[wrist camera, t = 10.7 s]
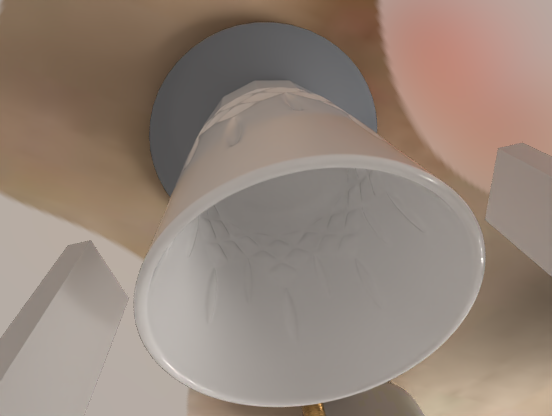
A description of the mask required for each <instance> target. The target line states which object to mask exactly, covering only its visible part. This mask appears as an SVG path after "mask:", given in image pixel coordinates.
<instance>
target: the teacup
mask: <svg viewBox="0 0 552 416" xmlns="http://www.w3.org/2000/svg"><path fill="white" fill-rule="evenodd" d="M323 404H324V409H325V413H326V416H425V415H424V414H423V412H422V410H421V409H420V407H419V406H418V404H417V403H416V401H415V400H414V399H413V398H412V397H411V395H410V394H409V393H408V392H406V391H405V390H404V389H402V388H400V387H399V386H396V385H394V384H391V383H387V382H386V383H384V384H381V385H379V386H377V387H374V388H372V389H369V390H367V391H364V392H361V393H358V394H355V395H352V396H349V397H345V398H342V399H338V400H334V401H329V402H324V403H323Z"/></svg>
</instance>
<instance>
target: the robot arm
mask: <svg viewBox="0 0 552 416" xmlns="http://www.w3.org/2000/svg"><path fill="white" fill-rule="evenodd" d="M485 220H486V221H487V222H488V223H489V224H491V225H492V226H493V227H494V228H495V229H496V230H498V231H499V232H500V233H501V234H502V235H503V236H505V237H506V238H507V239H508V240H509V241H510V242H512V243H513V244H514V245H515V246H516V247H517V248H519V249H520V250H521V251H522V252H523V253H524V254H526V255H527V256H528V257H529V258H530V259H532V260H533V261H534V262H535V263H536V264H537V265H539V266H540V267H541V268H542V269H543V270H544V271H546V272H547V273H548V274H549V275H550V276H551V277H552V156H550V155H548V154H546V153H543V152H541V151H539V150H537V149H535V148H533V147H531V146H529V145H526V144H524V143H519V144H515V145H510V146H506V147H502V148H498V152H497V157H496V162H495V168H494V173H493V179H492V184H491V190H490V195H489V201H488V206H487V212H486V217H485ZM128 299H129V298H128V296H127V295H126V293H125V292H124V290H123V289H122V287H121V286H120V284H119V283H118V281H117V280H116V278H115V276H114V275H113V273H112V272H111V270H110V269H109V267H108V266H107V264H106V263H105V261H104V260H103V258H102V257H101V255H100V253H99V252H98V251H97V249H96V247H95V246H94V244H93V243H92V241H85V242H81V243H77V244H72V245H68V246H67V247H66V249H65V250H64V252H63V253H62V254H61V256H60V257H59V258H58V260H57V261H56V263H55V264H54V265H53V267H52V268H51V270H50V271H49V272H48V274H47V275H46V276H45V278H44V279H43V280H42V282H41V283H40V285H39V286H38V287H37V289H36V290H35V292H34V293H33V294H32V296H31V297H30V298H29V300H28V301H27V302H26V304H25V305H24V307H23V308H22V309H21V311H20V312H19V314H18V315H17V316H16V318H15V319H14V320H13V322H12V323H11V325H10V326H9V327H8V329H7V330H6V332H5V333H4V334H3V336H2V337H1V338H0V416H84V415H85V412H86V410H87V407H88V405H89V402H90V399H91V397H92V394H93V391H94V389H95V386H96V384H97V381H98V378H99V376H100V373H101V370H102V368H103V365H104V363H105V360H106V357H107V355H108V352H109V349H110V347H111V344H112V341H113V339H114V336H115V334H116V331H117V328H118V326H119V323H120V321H121V318H122V315H123V313H124V310H125V307H126V305H127V302H128Z"/></svg>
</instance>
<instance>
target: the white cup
mask: <svg viewBox="0 0 552 416" xmlns="http://www.w3.org/2000/svg"><path fill="white" fill-rule="evenodd" d="M485 260H486V253H485V243H484V238H483V234H482V231H481V228H480V226H479V223H478V221H477V219H476V217H475V215H474V214H473V212H472V210H471V209H470V207H469V206H468V205H467V203H466V202H465V201H464V200H463V199H462V198H461V196H460V195H459V194H458V193H456V192H455V191H454V190H453V189H452V188H451V187H450V186H448V185H447V184H446V183H444V182H443V181H442V180H440V179H439V178H437V177H436V176H435V175H433V174H432V173H430V172H429V171H428V170H426V169H425V168H423V167H422V166H421V165H419V164H418V163H417V162H415V161H414V160H412V159H411V158H410V157H408V156H407V155H406V154H404V153H403V152H401V151H400V150H399V149H397V148H396V147H395V146H393V145H392V144H391V143H389V142H388V141H387V140H385V139H384V138H382V137H381V136H380V135H378V134H377V133H376V132H374V131H373V130H372V129H370V128H369V127H368V126H366V125H365V124H364V123H362V122H361V121H359V120H358V119H357V118H355V117H353V116H352V115H350V114H348V113H347V112H345V111H344V110H342V109H341V108H339V107H338V106H336V105H335V104H333V103H332V102H330V101H329V100H327V99H325V98H324V97H322V96H320V95H317V94H315V93H313V92H311V91H309V90H307V89H305V88H303V87H302V86H300V85H298V84H296V83H294V82H292V81H290V80H255V81H252V82H250V83H249V84H247V85H245V86H243V87H241V88H239V89H237V90H235V91H233V92H231V93H229V94H227V95H226V96H224V97H223V98H222V99H221V101H220V102H219V103H218V105H217V106H216V108H215V109H214V111H213V112H212V113H211V115H210V116H209V118H208V119H207V120H206V122H205V123H204V125H203V128H202V129H201V131H200V133H199V135H198V136H197V138H196V140H195V142H194V144H193V147H192V149H191V151H190V153H189V155H188V157H187V159H186V161H185V163H184V165H183V168H182V170H181V172H180V175H179V177H178V180H177V182H176V185H175V187H174V190H173V192H172V195H171V197H170V199H169V202H168V204H167V207H166V209H165V212H164V214H163V216H162V219H161V221H160V224H159V226H158V228H157V231H156V233H155V235H154V238H153V240H152V242H151V245H150V247H149V249H148V252H147V254H146V256H145V259H144V261H143V263H142V266H141V268H140V271H139V274H138V278H137V281H136V286H135V293H134V317H135V322H136V327H137V330H138V333H139V336H140V338H141V340H142V342H143V344H144V346H145V348H146V349H147V351H148V352H149V354H150V355H151V357H152V358H153V359H154V360H155V361H156V362H157V364H158V365H159V366H160V367H162V369H163V370H164V371H166V372H167V373H168V374H169V375H171V376H172V377H173V378H175V379H176V380H178V381H179V382H181V383H182V384H184V385H186V386H187V387H189V388H191V389H193V390H195V391H197V392H200V393H202V394H205V395H207V396H210V397H213V398H216V399H219V400H223V401H227V402H231V403H236V404H242V405H249V406H259V407H294V406H305V405H313V404H319V403H324V402H329V401H334V400H338V399H342V398H345V397H349V396H352V395H355V394H358V393H361V392H364V391H367V390H369V389H372V388H374V387H377V386H379V385H381V384H384V383H386V382H388V381H390V380H392V379H394V378H396V377H398V376H399V375H401V374H403V373H405V372H406V371H408V370H410V369H411V368H413V367H414V366H416V365H417V364H419V363H420V362H422V361H423V360H424V359H426V358H427V357H428V356H430V355H431V354H432V353H433V352H434V351H436V350H437V349H438V348H439V347H440V346H441V345H442V344H443V343H444V342H445V341H446V340H447V339H448V338H449V337H450V336H451V335H452V334H453V333H454V332H455V331H456V329H457V328H458V327H459V326H460V324H461V323H462V322H463V320H464V319H465V317H466V316H467V314H468V313H469V311H470V309H471V308H472V306H473V304H474V302H475V300H476V298H477V295H478V293H479V290H480V287H481V284H482V281H483V276H484V271H485Z"/></svg>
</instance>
